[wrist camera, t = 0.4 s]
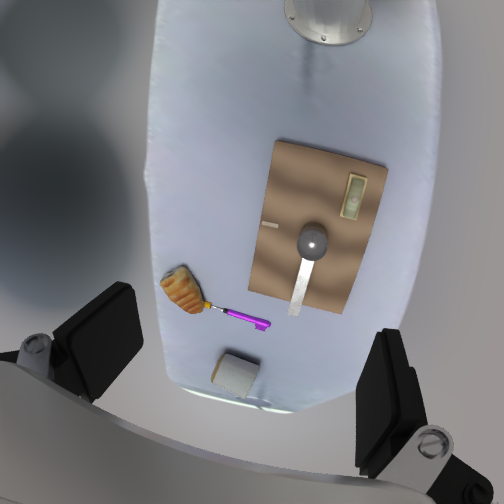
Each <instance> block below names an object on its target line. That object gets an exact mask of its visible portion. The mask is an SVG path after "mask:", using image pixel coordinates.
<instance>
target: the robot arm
mask: <svg viewBox="0 0 504 504" xmlns="http://www.w3.org/2000/svg"><path fill="white" fill-rule="evenodd" d="M284 10H285V15H286V18H287V20H288V22H289V24H290V26H291V27H292V28H293V29H294V30H295V31H296V32H297V33H298V34H299V35H301V36H302V37H304V38H305V39H307V40H309V41H311V42H314V43H317V44H321V45H326V46H342V45H347V44H350V43H353V42H355V41H357V40H359V39H360V38H361V37H363V36H364V35H365V33H366V32H367V31H368V29H369V27H370V25H371V22H372V10H371V7H370V4H369V2H368V0H285V3H284ZM292 19H295V20H292ZM358 31H360V32H361V33H359V32H358ZM322 39H325V41H322ZM53 335H54V338H55V339H54V340H53V341H52V340H51V338H50V336H48V335H47V334H43V333H38V334H33V335H31V336H29V337H27V338H26V339H25V340H24V341H23V342H22V344H21V347H20V350H18V351H11V352H4V353H0V504H494V503H493V502H492V500H493V494H494V491H493V486H492V484H491V483H490V481H489V480H488V479H487V478H485V477H484V476H482V475H481V474H480V473H478V472H477V471H475V470H474V469H472V468H471V467H470V466H468V465H467V464H465V463H464V462H462V461H461V460H460V459H458V458H457V457H456V456H454V455H453V454H452V452H453V448H454V447H453V446H454V443H453V439H452V437H451V435H450V434H449V432H447V431H446V430H445V429H444V428H442V427H439V426H436V425H428V422H427V417H426V413H425V408H424V403H423V399H422V394H421V391H420V387H419V382H418V378H417V374H416V371H415V369H414V368H413V367H409V363H408V360H407V356H406V352H405V348H404V345H403V341H402V338H401V335H400V331H399V330H397V329H388V328H384V329H383V330H382V332H377V333H376V336H375V339H374V342H373V345H372V347H371V350H370V353H369V355H368V358H367V361H366V363H365V366H364V368H363V371H362V373H361V376H360V378H359V381H358V383H357V387H356V455H355V466H356V467H359V468H360V474H359V475H366V476H367V475H368V478H363V477H351V476H342V475H331V474H321V473H311V472H305V471H298V470H291V469H285V468H279V467H273V466H268V465H263V464H257V463H253V462H248V461H244V460H240V459H235V458H231V457H227V456H224V455H220V454H216V453H213V452H209V451H206V450H203V449H199V448H196V447H193V446H190V445H187V444H184V443H181V442H178V441H175V440H172V439H170V438H167V437H164V436H161V435H159V434H156V433H154V432H151V431H149V430H146V429H144V428H142V427H139V426H137V425H135V424H132V423H130V422H127V421H126V420H123V419H121V418H119V417H117V416H115V415H113V414H110V413H109V412H107V411H104V410H102V409H101V408H99V407H97V406H95V405H93V404H92V403H93V402H94V400H95V399H99V398H100V397H101V396H102V394H103V393H104V392H105V391H106V390H107V388H108V387H109V386H110V385H111V384H112V382H113V381H114V380H115V379H116V378H117V376H118V375H119V374H120V373H121V372H122V370H123V369H124V368H125V367H126V366H127V365H128V363H129V362H130V361H131V360H132V359H133V357H134V356H135V355H136V354H137V353H138V351H139V350H140V349H141V348H142V346H143V341H144V340H143V335H142V330H141V325H140V319H139V314H138V308H137V302H136V296H135V291H134V289H133V288H132V286H131V285H130V284H128V283H123V282H119V281H117V282H115V283H114V284H113V285H111V286H110V287H109V288H107V289H106V290H105V291H103V292H102V293H101V294H100V295H98V296H97V297H96V298H94V299H93V300H92V301H91V302H89V303H88V304H87V305H85V306H84V307H83V308H82V309H80V310H79V311H78V312H77V313H76V314H74V315H73V316H72V317H71V318H69V319H68V320H67V321H65V322H64V323H63V324H62V325H61V326H59V327H58V328H57V329H56V330H55V331H53ZM79 396H80V397H81V398H80V397H79ZM495 504H498V502H497V503H495Z"/></svg>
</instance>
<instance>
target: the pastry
mask: <svg viewBox="0 0 504 504" xmlns="http://www.w3.org/2000/svg"><path fill="white" fill-rule="evenodd" d="M160 285H161V286H162V287H163V289H164V291H165V293H166V294H167V295H168V297H169V299H170V300H171V301H173V302H174V303H175V304H177V305H178V306H179V307H181V308H182V309H183V310H184V311H186V312H188V313H190V314H196V313H201V312H202V311H203V307H204V302H203V299H202V295H201V293H200V287H199V286H198V284H197V282H196V281H195V279H194V278H193V276H192V274H191V272H190V271H189V270H188V269H187V268H186V267H184V266H181V267H178V268H176V269H175V270H174V271H172V272H171V273H167V274H165V275H164V276H163V277H162V279H161V281H160Z"/></svg>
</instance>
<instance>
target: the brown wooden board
mask: <svg viewBox="0 0 504 504" xmlns="http://www.w3.org/2000/svg"><path fill="white" fill-rule="evenodd" d="M388 170H389V169H387V168H385V167H382V166H379V165H375V164H372V163H369V162H365V161H362V160H358V159H355V158H351V157H347V156H343V155H340V154H336V153H332V152H328V151H324V150H319V149H315V148H311V147H306V146H302V145H297V144H292V143H288V142H283V141H275V144H274V149H273V155H272V160H271V166H270V171H269V177H268V182H267V188H266V193H265V199H264V204H263V210H262V215H261V221H260V226H259V232H258V237H257V243H256V248H255V254H254V259H253V265H252V270H251V275H250V281H249V286H248V290H249V291H252V292H256V293H260V294H264V295H267V296H271V297H275V298H279V299H282V300H286V301H291V297H292V294H293V290H294V287H295V283H296V279H297V276H298V272H299V268H300V264H301V261H302V257H301V256H300V255H299V253H298V251H297V242H298V238H299V235H300V231H301V229H302V227H303V226H304V225H306V224H308V223H311V222H316V223H319V224H321V225H322V226H324V228H325V229H326V231H327V252H326V254H325V255H324V257H322V258H321V259H319V260H317V261H314V264H313V267H312V271H311V274H310V278H309V281H308V284H307V288H306V291H305V294H304V298H303V301H302V305H306V306H310V307H314V308H318V309H322V310H326V311H330V312H334V313H338V314H342V312H343V310H344V307H345V305H346V302H347V300H348V297H349V294H350V292H351V289H352V286H353V284H354V281H355V278H356V275H357V273H358V270H359V267H360V264H361V261H362V258H363V255H364V252H365V249H366V246H367V243H368V240H369V237H370V234H371V231H372V227H373V224H374V221H375V217H376V214H377V211H378V207H379V204H380V200H381V197H382V193H383V189H384V185H385V182H386V178H387V174H388Z"/></svg>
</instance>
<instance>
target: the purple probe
mask: <svg viewBox="0 0 504 504" xmlns="http://www.w3.org/2000/svg"><path fill="white" fill-rule="evenodd" d="M203 302H204V307H206V308H209V309H210V308H211V307H214V306H212V305H211V303H210V302H207V301H203ZM210 306H211V307H210ZM214 308H217V307H214ZM217 309H220V308H217ZM220 310H223V309H220ZM223 312H224V313H226V314H228V315H231V316H234V317H237V318H240V319H243V320H246V321H249V322H252V323H255V326H256V328H255V329H258V330H261V331H265V329H266V328H267V327H270V325H271V323H270V322H268V321H266V320H262V319H259V318H254V317H251V316H248V315H245V314H242V313H239V312H236V311H233V310H230V309H225V308H224V310H223Z"/></svg>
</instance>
